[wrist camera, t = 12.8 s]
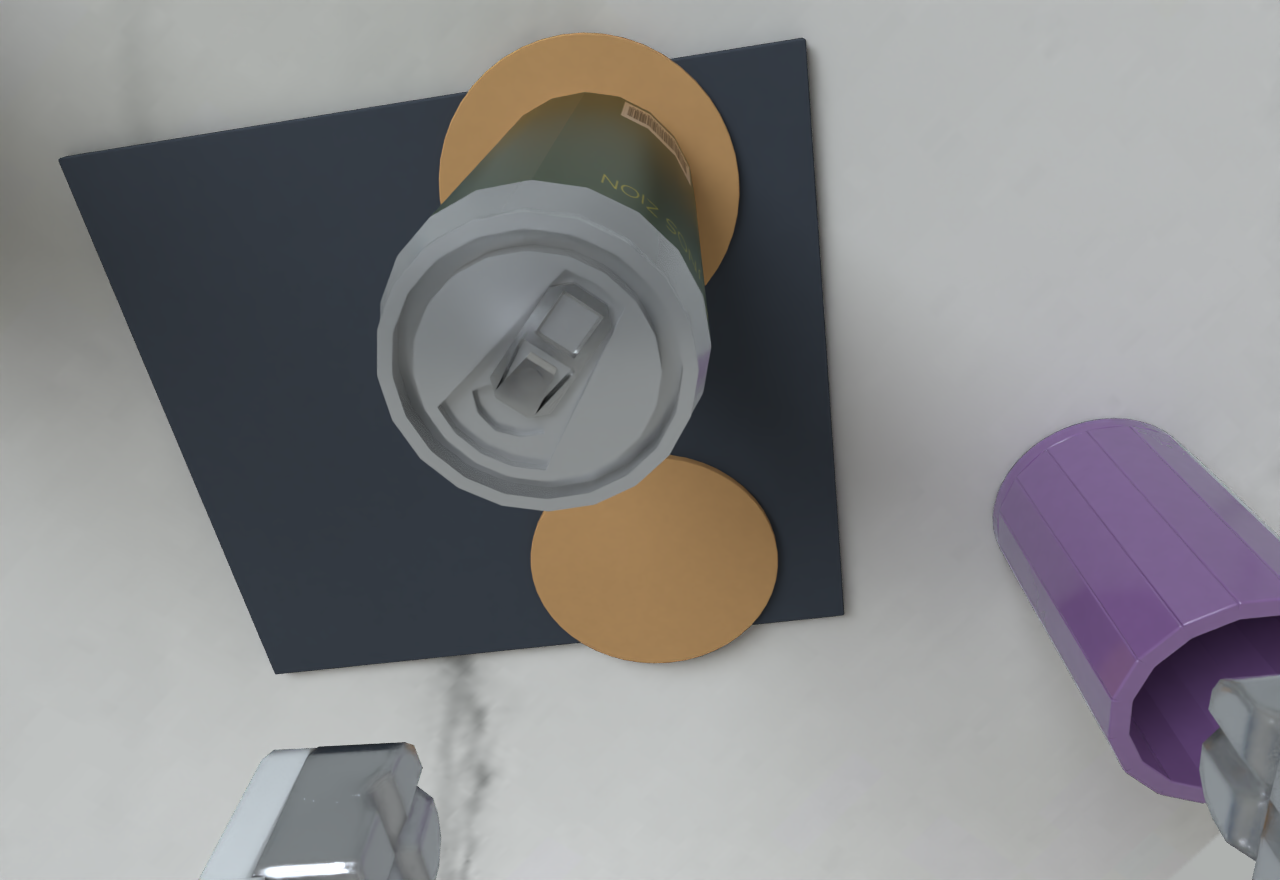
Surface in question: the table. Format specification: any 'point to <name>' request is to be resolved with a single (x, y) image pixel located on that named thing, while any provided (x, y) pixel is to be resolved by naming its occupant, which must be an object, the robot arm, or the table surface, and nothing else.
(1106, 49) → the table surface
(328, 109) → the table surface
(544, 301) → the beer can
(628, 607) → the placemat
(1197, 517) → the purple cup
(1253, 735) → the robot arm
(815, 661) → the table surface
